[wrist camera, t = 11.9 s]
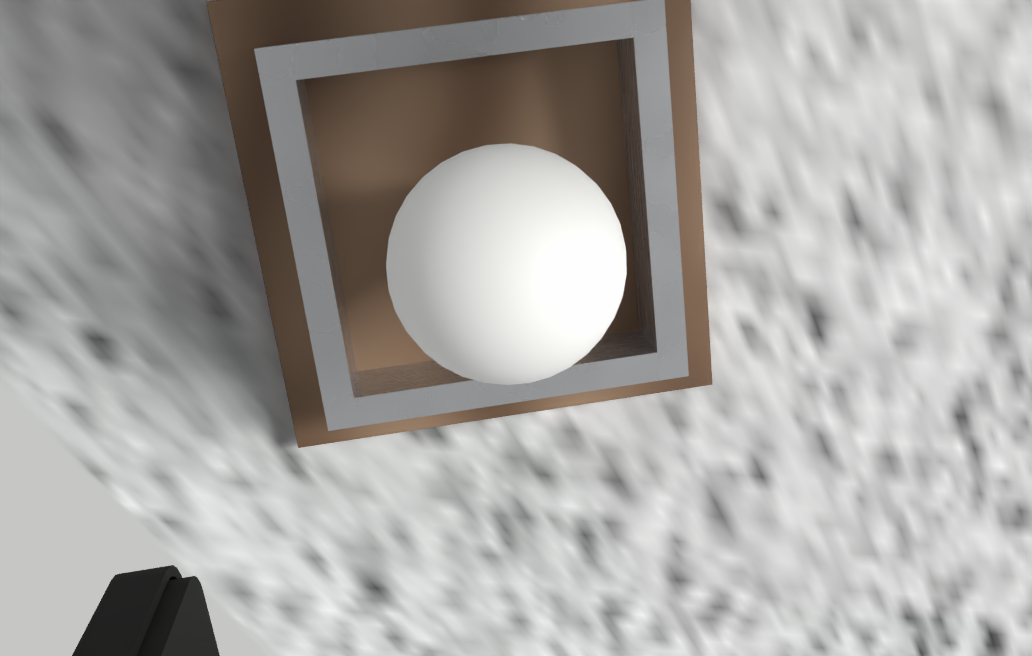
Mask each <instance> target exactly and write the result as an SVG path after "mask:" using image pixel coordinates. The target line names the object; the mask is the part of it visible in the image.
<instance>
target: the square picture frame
mask: <svg viewBox="0 0 1032 656" xmlns="http://www.w3.org/2000/svg"><path fill="white" fill-rule="evenodd" d="M609 40H616V42H617V54H618V67H619V79H620V91H621V104H622V116H623V129H624V141H625V153H626V166H627V178H628V191H629V203H630V215H631V228H632V240H633V252H634V265H635V277H636V290H637V302H638V314H639V327H640V330H633V331H627V332H620V333H613V334H606V335H603V337H602V338H601V340H600V341H599V342H598V343H597V344H596V345H595V346H594V347H593V348H592V349H591V350H590V352H589V353H588V354H587V355H586V356H584V357H583V358H582V359H580V360H579V361H577V362H576V363H575V364H573V365H572V366H571V367H569V368H567V369H565V370H563V371H561V372H559V373H557V374H555V375H553V376H551V377H549V378H545V379H542V380H538V381H535V382H531V383H524V384H514V385H502V384H491V383H483V382H480V381H476V380H473V379H469V378H466V377H462V376H460V375H458V374H456V373H454V372H452V371H450V370H448V369H446V368H444V367H442V366H441V365H440V364H438V363H437V362H436V361H435V360H431V361H424V362H417V363H411V364H404V365H397V366H390V367H384V368H377V369H370V370H363V371H357V367H356V361H355V356H354V350H353V345H352V339H351V334H350V328H349V323H348V317H347V311H346V306H345V300H344V295H343V289H342V284H341V278H340V273H339V267H338V262H337V256H336V250H335V245H334V239H333V234H332V228H331V223H330V217H329V212H328V206H327V200H326V195H325V189H324V184H323V178H322V173H321V167H320V162H319V156H318V151H317V145H316V139H315V134H314V128H313V123H312V117H311V112H310V106H309V101H308V95H307V89H306V84H305V79H309V78H317V77H325V76H332V75H340V74H348V73H356V72H364V71H372V70H380V69H388V68H396V67H404V66H412V65H419V64H427V63H435V62H443V61H451V60H459V59H467V58H475V57H483V56H491V55H499V54H506V53H514V52H522V51H530V50H538V49H546V48H554V47H562V46H570V45H578V44H586V43H594V42H601V41H609ZM254 51H255V56H256V62H257V67H258V72H259V77H260V82H261V87H262V92H263V98H264V103H265V108H266V113H267V118H268V123H269V128H270V134H271V139H272V144H273V149H274V154H275V159H276V164H277V170H278V175H279V180H280V185H281V190H282V195H283V200H284V206H285V211H286V216H287V221H288V226H289V231H290V237H291V242H292V247H293V252H294V257H295V262H296V267H297V273H298V278H299V283H300V288H301V293H302V298H303V303H304V309H305V314H306V319H307V324H308V329H309V334H310V339H311V345H312V350H313V355H314V360H315V365H316V370H317V375H318V381H319V386H320V391H321V396H322V401H323V406H324V412H325V417H326V422H327V427H328V431H332V430H338V429H345V428H352V427H358V426H365V425H371V424H378V423H384V422H391V421H398V420H404V419H411V418H417V417H424V416H430V415H437V414H444V413H450V412H457V411H463V410H470V409H476V408H483V407H489V406H496V405H503V404H509V403H516V402H522V401H529V400H535V399H542V398H549V397H555V396H562V395H568V394H575V393H581V392H588V391H595V390H601V389H608V388H614V387H621V386H627V385H634V384H641V383H647V382H654V381H660V380H667V379H673V378H680V377H686V376H689V371H688V355H687V340H686V324H685V309H684V294H683V278H682V263H681V247H680V232H679V217H678V201H677V186H676V170H675V155H674V139H673V124H672V109H671V93H670V78H669V62H668V47H667V32H666V16H665V1H664V0H638V1H630V2H622V3H614V4H606V5H598V6H590V7H582V8H574V9H566V10H558V11H549V12H541V13H533V14H525V15H517V16H509V17H501V18H493V19H485V20H477V21H469V22H461V23H452V24H444V25H436V26H428V27H420V28H412V29H404V30H396V31H388V32H380V33H372V34H364V35H355V36H347V37H339V38H331V39H323V40H315V41H307V42H299V43H291V44H283V45H275V46H267V47H261V48H255V49H254Z"/></svg>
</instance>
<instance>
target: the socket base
mask: <svg viewBox="0 0 1032 656" xmlns="http://www.w3.org/2000/svg"><path fill="white" fill-rule="evenodd" d="M630 1H638V0H217V1H208V2H207V7H208V12H209V17H210V22H211V27H212V31H213V36H214V41H215V46H216V51H217V56H218V60H219V65H220V70H221V75H222V80H223V85H224V90H225V94H226V99H227V104H228V109H229V114H230V119H231V124H232V128H233V133H234V138H235V143H236V148H237V153H238V157H239V162H240V167H241V172H242V177H243V182H244V187H245V191H246V196H247V201H248V206H249V211H250V216H251V221H252V225H253V230H254V235H255V240H256V245H257V250H258V254H259V259H260V264H261V269H262V274H263V279H264V284H265V288H266V293H267V298H268V303H269V308H270V313H271V318H272V322H273V327H274V332H275V337H276V342H277V347H278V352H279V356H280V361H281V366H282V371H283V376H284V381H285V385H286V390H287V395H288V400H289V405H290V410H291V415H292V419H293V424H294V429H295V434H296V439H297V444H298V448H300V447H307V446H313V445H320V444H326V443H333V442H339V441H346V440H352V439H359V438H365V437H372V436H379V435H385V434H392V433H398V432H405V431H411V430H418V429H424V428H431V427H437V426H444V425H450V424H457V423H463V422H470V421H476V420H483V419H490V418H496V417H503V416H509V415H516V414H522V413H529V412H535V411H542V410H548V409H555V408H561V407H568V406H574V405H581V404H587V403H594V402H600V401H607V400H614V399H620V398H627V397H633V396H640V395H646V394H653V393H659V392H666V391H672V390H679V389H685V388H692V387H698V386H705V385H711V384H712V372H711V354H710V337H709V319H708V302H707V284H706V266H705V249H704V231H703V214H702V196H701V179H700V161H699V143H698V126H697V108H696V91H695V73H694V56H693V38H692V20H691V3H690V0H664V1H665V16H666V32H667V47H668V62H669V78H670V93H671V109H672V124H673V139H674V155H675V170H676V186H677V201H678V217H679V232H680V247H681V263H682V278H683V294H684V309H685V324H686V340H687V355H688V371H689V376H686V377H680V378H673V379H667V380H660V381H654V382H647V383H641V384H634V385H627V386H621V387H614V388H608V389H601V390H595V391H588V392H581V393H575V394H568V395H562V396H555V397H549V398H542V399H535V400H529V401H522V402H516V403H509V404H503V405H496V406H489V407H483V408H476V409H470V410H463V411H457V412H450V413H444V414H437V415H430V416H424V417H417V418H411V419H404V420H398V421H391V422H384V423H378V424H371V425H365V426H358V427H352V428H345V429H338V430H332V431H328V427H327V422H326V417H325V412H324V406H323V401H322V396H321V391H320V386H319V381H318V375H317V370H316V365H315V360H314V355H313V350H312V345H311V339H310V334H309V329H308V324H307V319H306V314H305V309H304V303H303V298H302V293H301V288H300V283H299V278H298V273H297V267H296V262H295V257H294V252H293V247H292V242H291V237H290V231H289V226H288V221H287V216H286V211H285V206H284V200H283V195H282V190H281V185H280V180H279V175H278V170H277V164H276V159H275V154H274V149H273V144H272V139H271V134H270V128H269V123H268V118H267V113H266V108H265V103H264V98H263V92H262V87H261V82H260V77H259V72H258V67H257V62H256V56H255V51H254V49H255V48H261V47H267V46H275V45H283V44H291V43H299V42H307V41H315V40H323V39H331V38H339V37H347V36H355V35H364V34H372V33H380V32H388V31H396V30H404V29H412V28H420V27H428V26H436V25H444V24H452V23H461V22H469V21H477V20H485V19H493V18H501V17H509V16H517V15H525V14H533V13H541V12H549V11H558V10H566V9H574V8H582V7H590V6H598V5H606V4H614V3H622V2H630ZM305 84H306V89H307V95H308V101H309V106H310V112H311V117H312V123H313V128H314V134H315V139H316V145H317V151H318V156H319V162H320V167H321V173H322V178H323V184H324V189H325V195H326V200H327V206H328V212H329V217H330V223H331V228H332V234H333V239H334V245H335V250H336V256H337V262H338V267H339V273H340V278H341V284H342V289H343V295H344V300H345V306H346V311H347V317H348V323H349V328H350V334H351V339H352V345H353V350H354V356H355V361H356V367H357V371H363V370H370V369H377V368H384V367H390V366H397V365H404V364H411V363H417V362H424V361H431V360H433V359H432V358H431V357H429V356H428V355H427V354H426V353H424V351H423V350H422V349H421V348H420V347H419V346H418V344H417V343H416V342H415V341H414V340H413V339H412V337H411V336H410V335H409V334H408V333H407V332H406V330H405V328H404V326H403V324H402V323H401V321H400V319H399V317H398V315H397V314H396V312H395V309H394V306H393V303H392V299H391V296H390V293H389V290H388V281H387V271H386V259H387V250H388V240H389V236H390V232H391V229H392V226H393V223H394V220H395V217H396V215H397V213H398V211H399V209H400V207H401V206H402V204H403V202H404V200H405V198H406V197H407V195H408V194H409V193H410V191H411V190H412V189H413V188H414V187H415V186H416V184H417V183H418V182H419V181H420V180H421V179H422V177H424V176H425V175H426V174H427V173H429V172H430V171H431V170H433V169H434V168H435V167H436V166H438V165H439V164H440V163H441V162H443V161H445V160H447V159H449V158H451V157H453V156H455V155H457V154H459V153H461V152H463V151H467V150H470V149H474V148H478V147H481V146H485V145H494V144H508V143H512V144H519V145H527V146H534V147H537V148H540V149H543V150H546V151H549V152H552V153H555V154H557V155H559V156H560V157H562V158H564V159H566V160H567V161H569V162H571V163H572V164H574V165H576V166H577V167H578V168H579V169H581V170H582V171H583V172H584V173H585V174H586V175H587V176H588V177H589V178H591V179H592V180H593V181H594V182H595V183H596V184H597V185H598V186H599V188H600V189H601V190H602V192H603V193H604V194H605V196H606V197H607V199H608V200H609V201H610V203H611V205H612V207H613V209H614V211H615V213H616V216H617V218H618V220H619V222H620V224H621V229H622V233H623V238H624V242H625V247H626V267H627V275H626V281H625V287H624V292H623V297H622V300H621V302H620V305H619V308H618V310H617V313H616V315H615V318H614V319H613V321H612V322H611V324H610V326H609V327H608V329H607V330H606V332H605V334H604V335H606V334H613V333H620V332H627V331H633V330H640V327H639V314H638V302H637V290H636V277H635V265H634V252H633V240H632V228H631V215H630V203H629V191H628V178H627V166H626V153H625V141H624V129H623V116H622V104H621V91H620V79H619V67H618V54H617V42H616V40H609V41H601V42H594V43H586V44H578V45H570V46H562V47H554V48H546V49H538V50H530V51H522V52H514V53H506V54H499V55H491V56H483V57H475V58H467V59H459V60H451V61H443V62H435V63H427V64H419V65H412V66H404V67H396V68H388V69H380V70H372V71H364V72H356V73H348V74H340V75H332V76H325V77H317V78H309V79H305Z"/></svg>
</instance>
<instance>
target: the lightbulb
mask: <svg viewBox="0 0 1032 656" xmlns="http://www.w3.org/2000/svg"><path fill="white" fill-rule="evenodd" d="M386 271H387V281H388V290H389V293H390V296H391V299H392V303H393V306H394V309H395V312H396V314H397V315H398V317H399V319H400V321H401V323H402V324H403V326H404V328H405V330H406V332H407V333H408V334H409V335H410V336H411V337H412V339H413V340H414V341H415V342H416V343H417V344H418V346H419V347H420V348H421V349H422V350H423V351H424V353H426V354H427V355H428V356H429V357H431V358H432V359H433V360H435V361H436V362H437V363H438V364H440V365H441V366H442V367H444V368H446V369H448V370H450V371H452V372H454V373H456V374H458V375H460V376H462V377H466V378H469V379H473V380H476V381H480V382H483V383H491V384H502V385H514V384H524V383H531V382H535V381H538V380H542V379H545V378H549V377H551V376H553V375H555V374H557V373H559V372H561V371H563V370H565V369H567V368H569V367H571V366H572V365H573V364H575V363H576V362H577V361H579V360H580V359H582V358H583V357H584V356H586V355H587V354H588V353H589V352H590V350H591V349H592V348H593V347H594V346H595V345H596V344H597V343H598V342H599V341H600V340H601V338H602V337H603V335H604V334H605V332H606V330H607V329H608V327H609V326H610V324H611V322H612V321H613V319H614V318H615V315H616V313H617V310H618V308H619V305H620V302H621V300H622V297H623V292H624V287H625V281H626V275H627V267H626V247H625V242H624V238H623V233H622V229H621V224H620V222H619V220H618V218H617V216H616V213H615V211H614V209H613V207H612V205H611V203H610V201H609V200H608V199H607V197H606V196H605V194H604V193H603V192H602V190H601V189H600V188H599V186H598V185H597V184H596V183H595V182H594V181H593V180H592V179H591V178H589V177H588V176H587V175H586V174H585V173H584V172H583V171H582V170H581V169H579V168H578V167H577V166H576V165H574V164H572V163H571V162H569V161H567V160H566V159H564V158H562V157H560V156H559V155H557V154H555V153H552V152H549V151H546V150H543V149H540V148H537V147H534V146H527V145H519V144H512V143H508V144H494V145H485V146H481V147H478V148H474V149H470V150H467V151H463V152H461V153H459V154H457V155H455V156H453V157H451V158H449V159H447V160H445V161H443V162H441V163H440V164H439V165H438V166H436V167H435V168H434V169H433V170H431V171H430V172H429V173H427V174H426V175H425V176H424V177H422V179H421V180H420V181H419V182H418V183H417V184H416V186H415V187H414V188H413V189H412V190H411V191H410V193H409V194H408V195H407V197H406V198H405V200H404V202H403V204H402V206H401V207H400V209H399V211H398V213H397V215H396V217H395V220H394V223H393V226H392V229H391V232H390V236H389V240H388V250H387V259H386Z"/></svg>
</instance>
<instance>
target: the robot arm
mask: <svg viewBox="0 0 1032 656" xmlns="http://www.w3.org/2000/svg"><path fill="white" fill-rule="evenodd" d="M72 656H220V655H219V652H218V648H217V644H216V640H215V636H214V632H213V628H212V624H211V621H210V616H209V612H208V609H207V605H206V601H205V597H204V593H203V589H202V586H201V583H200V581H199V580H198V578H197V577H195V576H192V577H186V578H182V576H181V574H180V572H179V570H178V569H177V568H176V567H175V566H173V565H172V566H165V567H159V568H153V569H147V570H141V571H134V572H129V573H122V574H117V575H115V576H114V578H113V579H112V580H111V582H110V584H109V586H108V588H107V590H106V591H105V594H104V595H103V597H102V599H101V601H100V603H99V605H98V607H97V609H96V611H95V613H94V614H93V616H92V618H91V621H90V622H89V624H88V626H87V628H86V630H85V632H84V634H83V636H82V638H81V639H80V641H79V643H78V645H77V647H76V649H75V651H74V653H73V655H72Z"/></svg>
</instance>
